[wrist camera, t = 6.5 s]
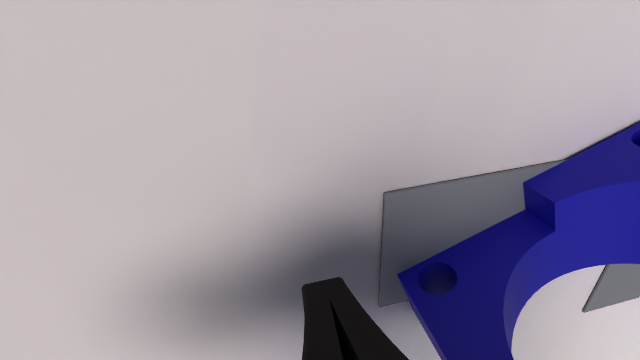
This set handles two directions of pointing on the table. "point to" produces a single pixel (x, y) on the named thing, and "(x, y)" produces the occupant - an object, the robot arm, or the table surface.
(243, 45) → the table surface
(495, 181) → the t marking
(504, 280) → the cable clip
